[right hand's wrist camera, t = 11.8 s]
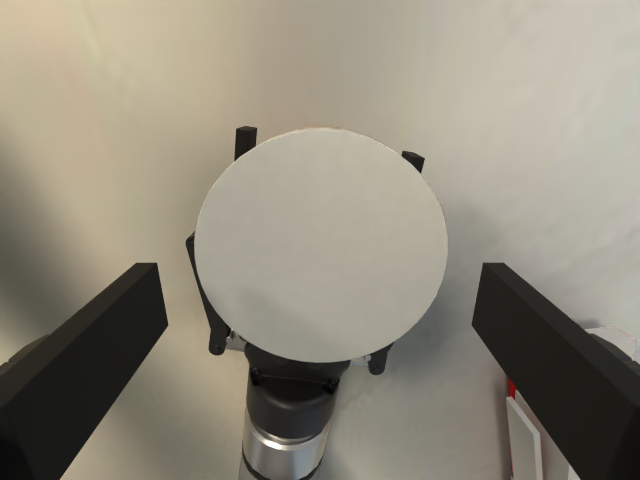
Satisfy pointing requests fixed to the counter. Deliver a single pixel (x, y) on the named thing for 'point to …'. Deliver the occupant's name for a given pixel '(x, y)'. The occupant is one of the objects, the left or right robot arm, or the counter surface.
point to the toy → (533, 440)
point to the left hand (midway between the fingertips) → (331, 141)
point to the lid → (321, 245)
